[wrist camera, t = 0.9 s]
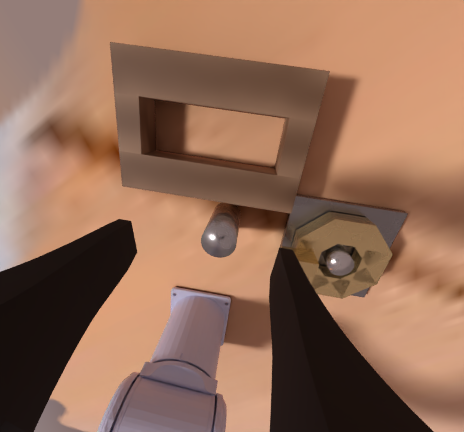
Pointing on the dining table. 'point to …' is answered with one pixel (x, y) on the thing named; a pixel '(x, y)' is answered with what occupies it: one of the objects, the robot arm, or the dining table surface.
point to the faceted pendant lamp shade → (345, 233)
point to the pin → (222, 230)
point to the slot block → (220, 97)
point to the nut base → (315, 207)
